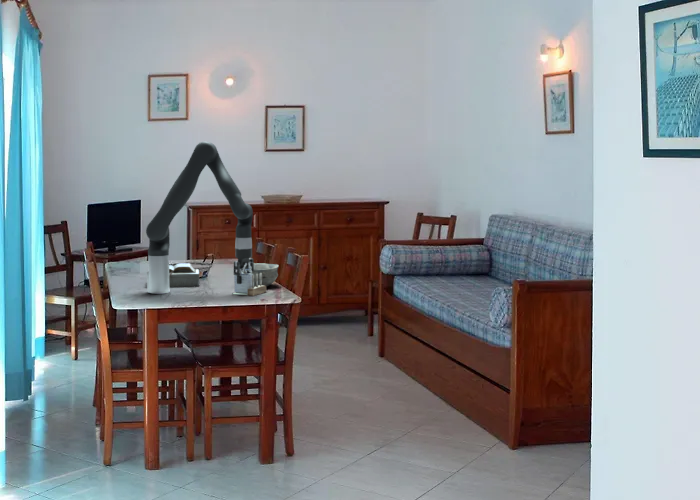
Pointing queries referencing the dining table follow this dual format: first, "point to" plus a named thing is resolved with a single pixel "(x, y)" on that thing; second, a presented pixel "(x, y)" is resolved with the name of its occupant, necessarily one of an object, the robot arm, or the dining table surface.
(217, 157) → the robot arm
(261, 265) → the bowl
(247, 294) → the pad
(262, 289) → the pin strip
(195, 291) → the dining table surface
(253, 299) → the dining table surface
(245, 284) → the medicine box
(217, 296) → the dining table surface
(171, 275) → the grey rectangular bin
